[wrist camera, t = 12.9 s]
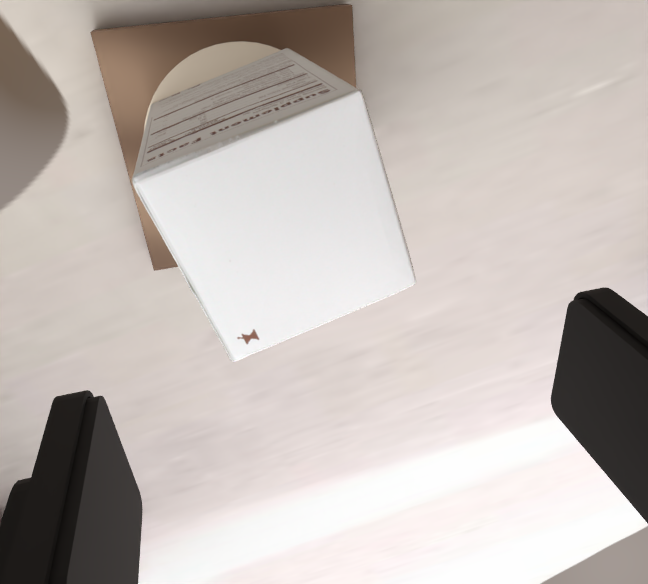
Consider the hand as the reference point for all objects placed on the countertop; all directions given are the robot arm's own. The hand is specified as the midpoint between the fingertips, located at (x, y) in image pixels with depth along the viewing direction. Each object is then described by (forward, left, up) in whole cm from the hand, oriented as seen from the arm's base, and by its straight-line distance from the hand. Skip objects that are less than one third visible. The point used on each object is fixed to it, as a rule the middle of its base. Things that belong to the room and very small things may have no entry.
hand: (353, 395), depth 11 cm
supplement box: (0, 0, -20) cm, 20 cm away
